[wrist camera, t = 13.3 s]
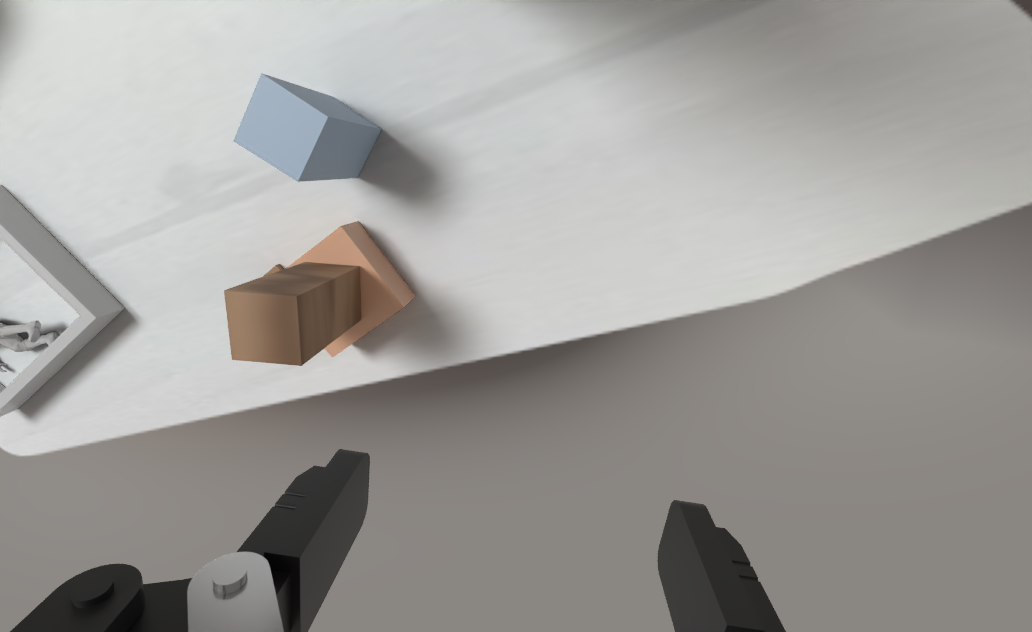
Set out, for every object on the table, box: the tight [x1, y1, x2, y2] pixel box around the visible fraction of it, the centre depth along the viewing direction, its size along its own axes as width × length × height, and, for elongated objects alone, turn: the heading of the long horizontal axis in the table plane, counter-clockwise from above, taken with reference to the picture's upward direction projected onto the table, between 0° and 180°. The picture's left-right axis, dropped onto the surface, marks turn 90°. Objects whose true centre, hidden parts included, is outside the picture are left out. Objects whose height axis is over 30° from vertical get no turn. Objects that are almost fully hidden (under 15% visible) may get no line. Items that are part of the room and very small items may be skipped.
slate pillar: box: [234, 73, 382, 181], centre depth 34 cm, size 4×4×10 cm
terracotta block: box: [287, 221, 415, 357], centre depth 41 cm, size 8×8×4 cm
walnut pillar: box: [224, 262, 361, 366], centre depth 34 cm, size 4×4×10 cm
